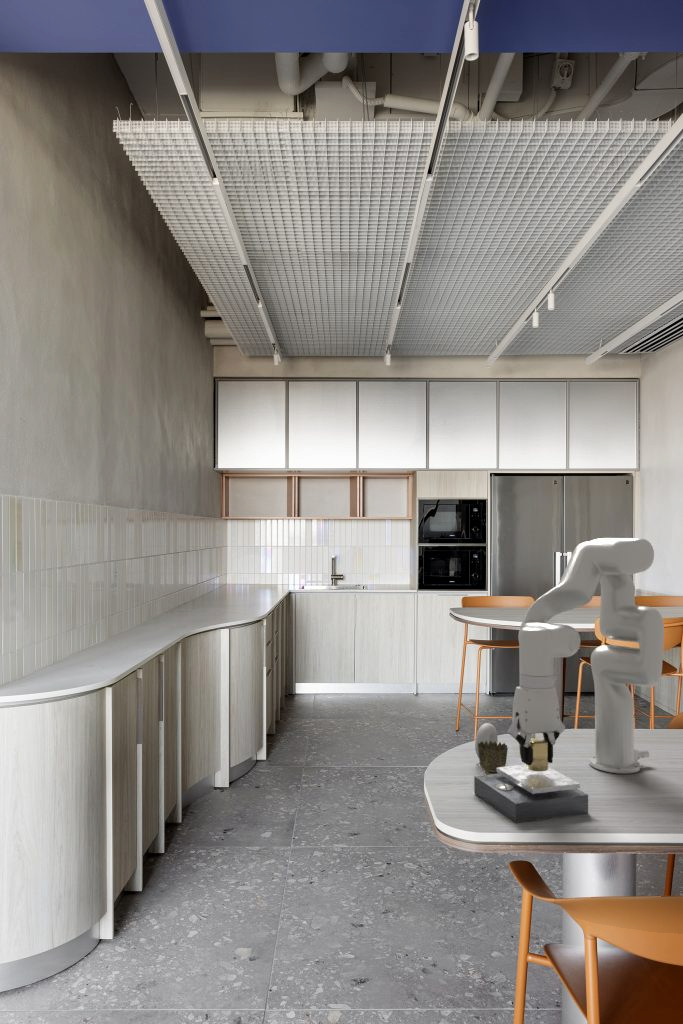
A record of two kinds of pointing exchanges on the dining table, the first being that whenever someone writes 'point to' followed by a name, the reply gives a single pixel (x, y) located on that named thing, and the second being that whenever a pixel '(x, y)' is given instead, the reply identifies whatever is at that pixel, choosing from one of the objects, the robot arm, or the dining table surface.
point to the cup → (492, 756)
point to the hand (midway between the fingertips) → (536, 761)
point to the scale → (528, 800)
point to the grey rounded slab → (485, 735)
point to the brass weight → (539, 755)
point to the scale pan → (537, 779)
